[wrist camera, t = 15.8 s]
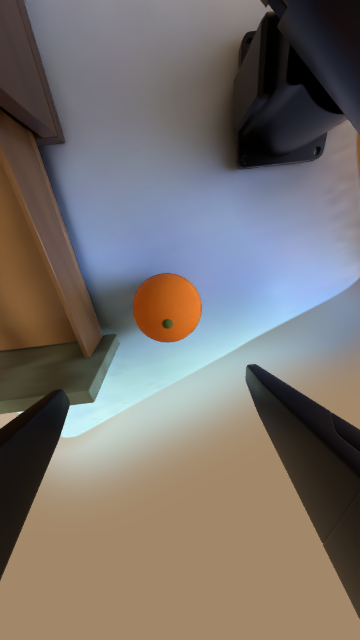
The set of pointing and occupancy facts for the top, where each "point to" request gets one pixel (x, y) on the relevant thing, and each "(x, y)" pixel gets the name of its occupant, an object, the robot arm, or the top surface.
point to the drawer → (41, 289)
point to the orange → (167, 307)
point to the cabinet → (25, 77)
